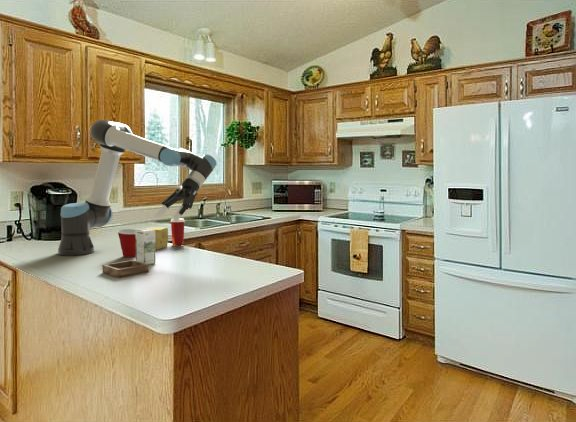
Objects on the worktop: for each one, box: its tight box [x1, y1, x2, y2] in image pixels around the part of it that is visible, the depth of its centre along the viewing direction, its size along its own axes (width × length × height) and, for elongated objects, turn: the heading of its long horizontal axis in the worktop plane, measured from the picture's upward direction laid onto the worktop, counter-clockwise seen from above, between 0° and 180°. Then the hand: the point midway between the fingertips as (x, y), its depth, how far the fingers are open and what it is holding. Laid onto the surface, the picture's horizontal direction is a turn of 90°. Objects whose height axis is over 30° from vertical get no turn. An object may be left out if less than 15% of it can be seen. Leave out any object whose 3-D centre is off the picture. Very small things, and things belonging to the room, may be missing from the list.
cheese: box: [140, 227, 169, 250], centre depth 205 cm, size 10×11×10 cm
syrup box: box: [135, 228, 156, 266], centre depth 165 cm, size 6×6×14 cm
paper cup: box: [170, 217, 186, 247], centre depth 214 cm, size 8×8×14 cm
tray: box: [101, 259, 150, 279], centre depth 151 cm, size 12×12×3 cm
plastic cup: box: [116, 228, 137, 258], centre depth 181 cm, size 11×11×12 cm
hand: (165, 218), depth 172 cm, fingers open, 13 cm apart
